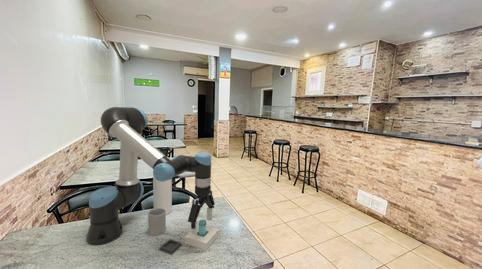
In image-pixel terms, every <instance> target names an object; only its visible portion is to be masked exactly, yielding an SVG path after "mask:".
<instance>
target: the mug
mask: <svg viewBox="0 0 482 269" xmlns="http://www.w3.org/2000/svg"><path fill="white" fill-rule="evenodd" d="M166 217H167V215H166V211H165V209H162V208H156V209H154V208H153V209H151V210H149V211H148V214H147V223H148V225H147V226H148V228H147V230H148V232H147V233H148V234H149V235H150V236H159V235H162V234H164V233H165V232H166V230H167V227H166V226H167V222H166V221H167V220H166Z"/></svg>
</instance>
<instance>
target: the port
mask: <svg viewBox="0 0 482 269" xmlns="http://www.w3.org/2000/svg"><path fill="white" fill-rule="evenodd" d="M219 231H220V230H219V229H218V228H214V227H211V226H208V225H206V235H205V236H204V237H202V236H199V223H197V235H194V234H191V230H190V231H189V232H188V233H187V234H186V235H185V236H184V244H186V245H187V246H192V247H195V248H197V249H201V250H204V251H207V250H208V249H209V248H210V246H211V245H212V244H213V243H214V241H216V239H218V237H219V234H220V233H219Z"/></svg>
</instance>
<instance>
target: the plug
mask: <svg viewBox="0 0 482 269" xmlns="http://www.w3.org/2000/svg"><path fill="white" fill-rule="evenodd" d="M198 224H199V236H202V237H204V236H205V235H206V226H207V219H200V220H198Z"/></svg>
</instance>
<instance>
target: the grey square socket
mask: <svg viewBox="0 0 482 269" xmlns="http://www.w3.org/2000/svg"><path fill="white" fill-rule="evenodd" d="M183 245H184V244H183V243H182V242H180V241H177V240H174V239H172V238H169V239H168V240H167V241H165V243H163V244H162V245H160V247H159V248H158V249H157V251H159V252H162V253H164V254H167V255H170V256H173V255H174V254H175V253H176V252H177V251H178V250H179V249H180V248H182V246H183Z"/></svg>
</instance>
